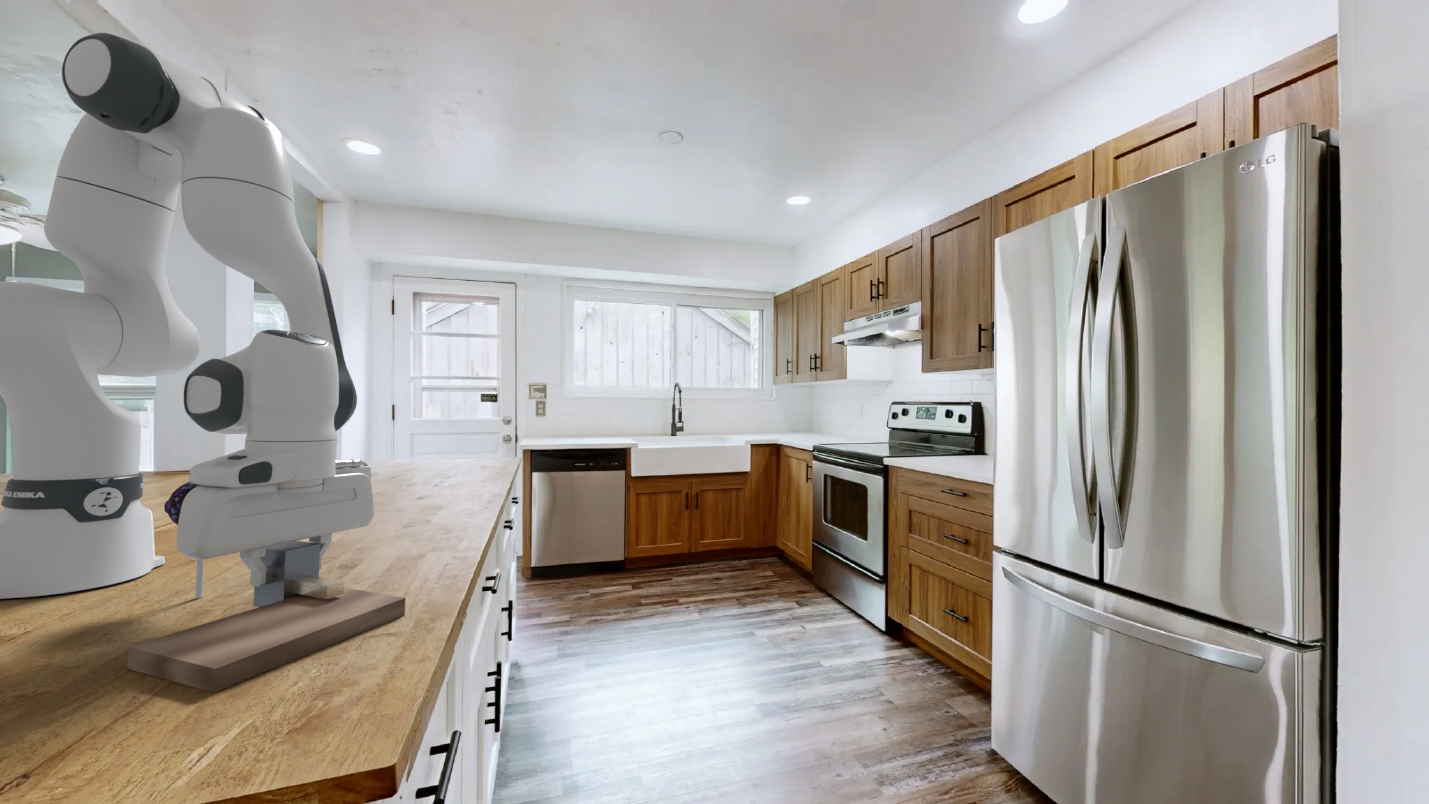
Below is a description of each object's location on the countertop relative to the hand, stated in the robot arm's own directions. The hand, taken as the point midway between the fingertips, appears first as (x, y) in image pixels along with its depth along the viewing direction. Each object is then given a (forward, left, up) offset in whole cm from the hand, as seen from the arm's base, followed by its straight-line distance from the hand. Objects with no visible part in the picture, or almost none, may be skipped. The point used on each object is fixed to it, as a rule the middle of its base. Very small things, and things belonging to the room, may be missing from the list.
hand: (287, 577), depth 65 cm
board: (+9, -6, -4) cm, 11 cm away
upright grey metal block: (+3, 0, -3) cm, 4 cm away
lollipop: (-13, -2, -4) cm, 14 cm away
